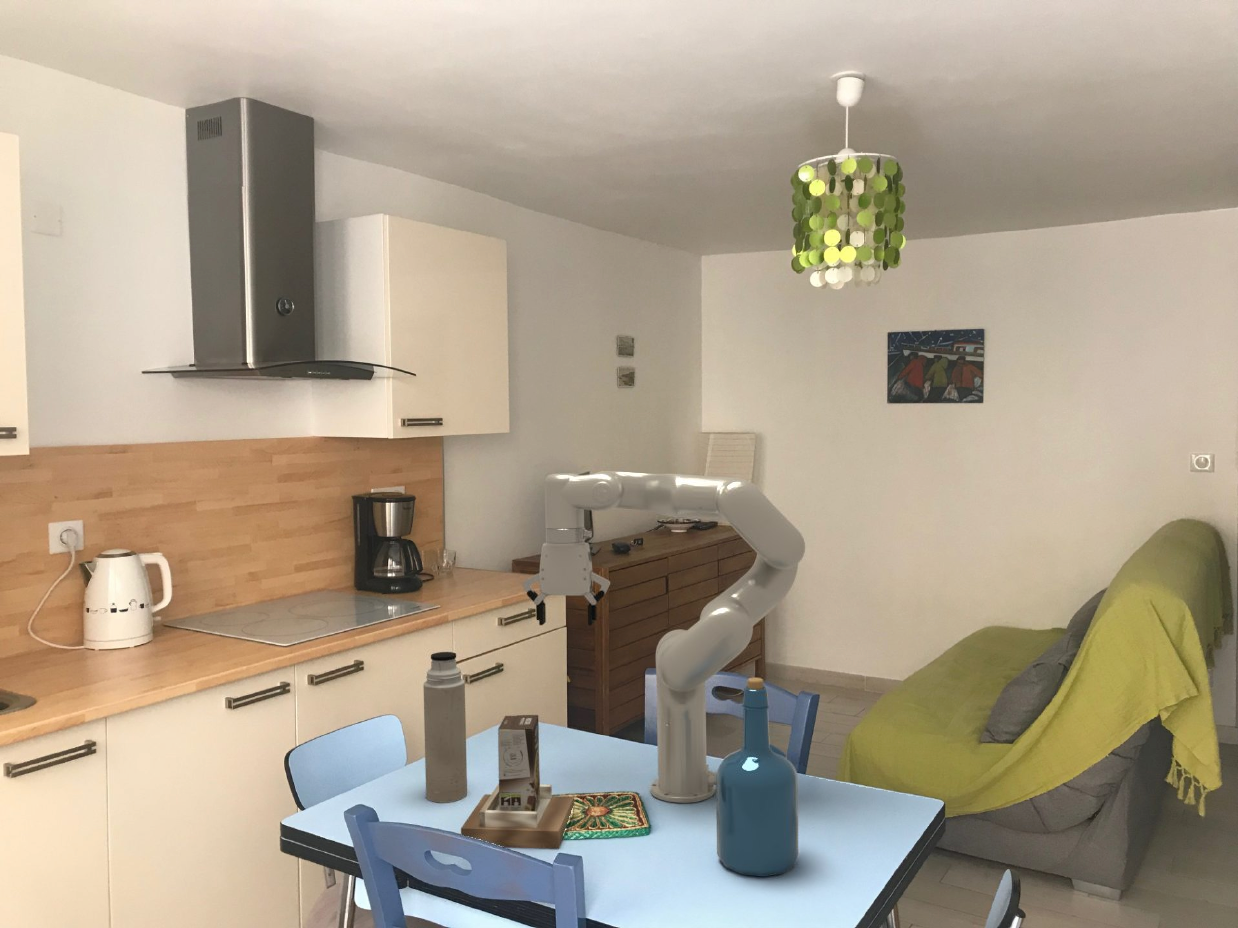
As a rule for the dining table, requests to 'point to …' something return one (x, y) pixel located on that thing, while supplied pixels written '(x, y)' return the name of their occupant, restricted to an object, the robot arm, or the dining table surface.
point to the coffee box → (519, 763)
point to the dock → (520, 822)
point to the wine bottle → (757, 797)
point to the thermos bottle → (445, 730)
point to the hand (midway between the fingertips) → (566, 624)
